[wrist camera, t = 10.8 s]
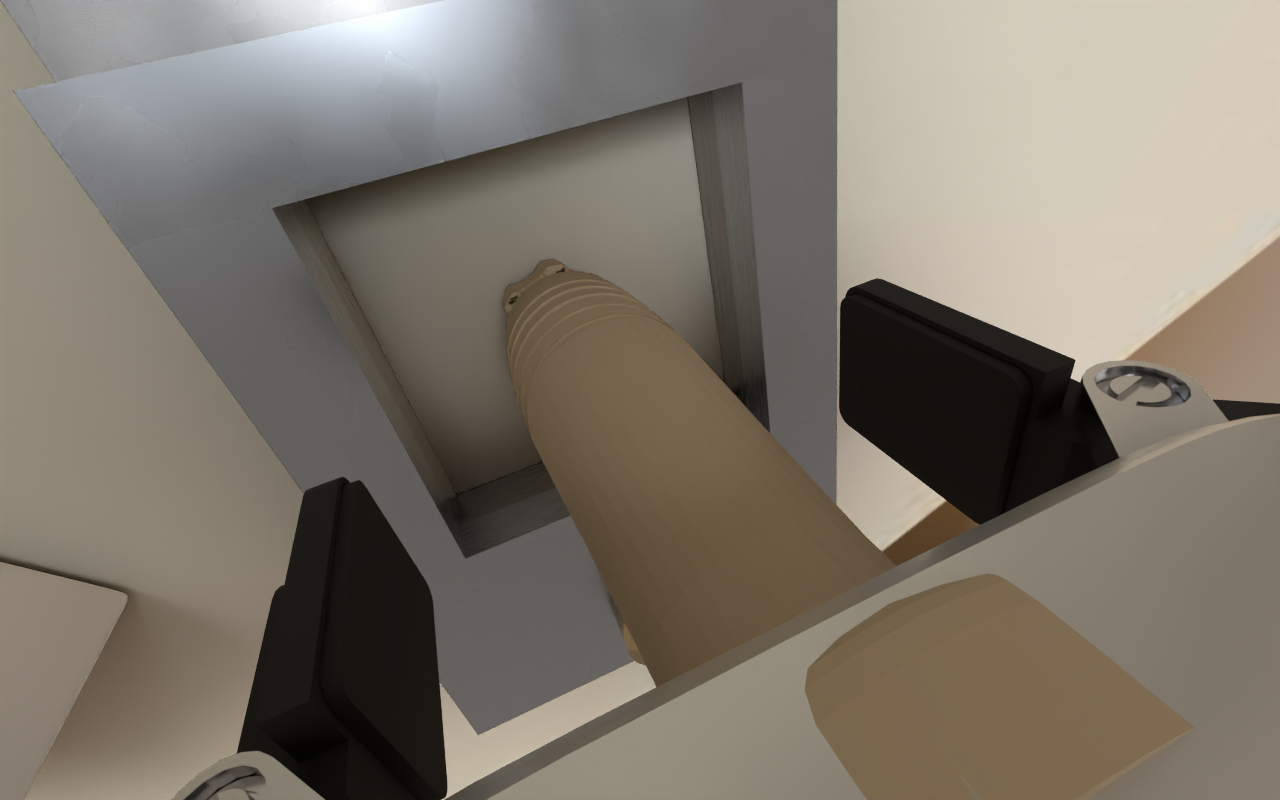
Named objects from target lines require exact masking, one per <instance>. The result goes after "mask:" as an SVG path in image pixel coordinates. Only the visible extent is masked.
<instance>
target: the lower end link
mask: <svg viewBox="0 0 1280 800" xmlns="http://www.w3.org/2000/svg"><path fill="white" fill-rule="evenodd" d="M0 1H1V2H2V4H3V5H4V7H5V8H6V10H7V11H8V13H9V14H10V16H11V17H12V19H13V20H14V22H15V23H16V25H17V26H18V27H19V29H20V30H21V32H22V33H23V35H24V36H25V38H26V39H27V41H28V42H29V44H30V45H31V47H32V48H33V50H34V51H35V52H36V54H37V55H38V57H39V58H40V60H41V61H42V63H43V64H44V66H45V67H46V69H47V70H48V72H49V73H50V75H51V76H52V77H53V79H54V80H55V82H58V81H63V80H68V79H73V78H77V77H82V76H87V75H92V74H96V73H101V72H106V71H111V70H115V69H120V68H125V67H130V66H134V65H139V64H144V63H149V62H153V61H158V60H163V59H168V58H172V57H177V56H182V55H187V54H191V53H196V52H201V51H206V50H210V49H215V48H220V47H225V46H229V45H234V44H239V43H244V42H248V41H253V40H258V39H263V38H267V37H272V36H277V35H282V34H286V33H291V32H296V31H301V30H305V29H310V28H315V27H320V26H324V25H329V24H334V23H338V22H343V21H348V20H353V19H357V18H362V17H367V16H372V15H376V14H381V13H386V12H391V11H395V10H400V9H405V8H410V7H414V6H419V5H424V4H429V3H433V2H438V1H443V0H0ZM688 102H689V110H690V118H691V125H692V133H693V141H694V148H695V156H696V164H697V172H698V179H699V187H700V195H701V202H702V210H703V218H704V225H705V233H706V241H707V248H708V256H709V264H710V271H711V279H712V287H713V295H714V302H715V310H716V318H717V325H718V333H719V341H720V348H721V356H722V364H723V371H724V379H725V384H726V386H727V387H728V388H729V389H730V390H731V391H732V392H733V393H734V394H735V395H736V397H737V398H738V399H739V400H740V401H741V402H742V403H743V404H744V405H745V407H746V399H745V390H744V380H743V371H742V362H741V352H740V343H739V334H738V325H737V315H736V306H735V297H734V288H733V278H732V269H731V260H730V250H729V241H728V232H727V223H726V213H725V204H724V195H723V186H722V176H721V167H720V158H719V148H718V139H717V130H716V121H715V111H714V102H713V93H712V90H711V91H707V92H704V93H700V94H696V95H692V96H689V97H688ZM290 205H291V207H292V208H293V210H294V212H295V214H296V216H297V218H298V220H299V222H300V224H301V225H302V227H303V229H304V231H305V233H306V235H307V237H308V239H309V240H310V242H311V244H312V246H313V248H314V250H315V252H316V254H317V255H318V257H319V259H320V261H321V263H322V265H323V267H324V269H325V271H326V272H327V274H328V276H329V278H330V280H331V282H332V284H333V286H334V287H335V289H336V291H337V293H338V295H339V297H340V299H341V301H342V302H343V304H344V306H345V308H346V310H347V312H348V314H349V316H350V317H351V319H352V321H353V323H354V325H355V327H356V329H357V331H358V333H359V334H360V336H361V338H362V340H363V342H364V344H365V346H366V348H367V349H368V351H369V353H370V355H371V357H372V359H373V361H374V363H375V364H376V366H377V368H378V370H379V372H380V374H381V376H382V378H383V380H384V381H385V383H386V385H387V387H388V389H389V391H390V393H391V395H392V396H393V398H394V400H395V402H396V404H397V406H398V408H399V410H400V411H401V413H402V415H403V417H404V419H405V421H406V423H407V425H408V427H409V428H410V430H411V432H412V434H413V436H414V438H415V440H416V442H417V443H418V445H419V447H420V449H421V451H422V453H423V455H424V457H425V458H426V460H427V462H428V464H429V466H430V468H431V470H432V472H433V474H434V475H435V477H436V479H437V481H438V483H439V485H440V487H441V489H442V490H443V492H444V494H445V496H446V498H447V500H448V502H449V504H450V505H451V507H452V509H453V511H454V513H455V515H456V517H457V519H458V521H459V522H460V524H461V525H462V524H464V523H467V522H469V521H472V520H474V519H477V518H479V517H482V516H484V515H487V514H489V513H492V512H494V511H497V510H499V509H502V508H504V507H507V506H509V505H512V504H514V503H517V502H519V501H522V500H524V499H527V498H529V497H532V496H534V495H537V494H539V493H542V492H544V491H547V490H549V489H552V488H554V487H556V486H555V484H554V482H553V480H552V478H551V476H550V474H549V473H548V471H547V469H546V467H545V465H544V463H543V462H542V463H539V464H536V465H534V466H531V467H529V468H526V469H523V470H521V471H518V472H516V473H513V474H511V475H508V476H505V477H503V478H500V479H498V480H495V481H492V482H490V483H487V484H485V485H482V486H480V487H477V488H474V489H472V490H469V491H467V492H464V493H462V494H459V495H456V493H455V491H454V489H453V487H452V485H451V483H450V481H449V479H448V477H447V475H446V473H445V471H444V470H443V468H442V466H441V464H440V462H439V460H438V458H437V456H436V454H435V452H434V450H433V448H432V446H431V444H430V442H429V440H428V439H427V437H426V435H425V433H424V431H423V429H422V427H421V425H420V423H419V421H418V419H417V417H416V415H415V413H414V411H413V409H412V408H411V406H410V404H409V402H408V400H407V398H406V396H405V394H404V392H403V390H402V388H401V386H400V384H399V382H398V380H397V378H396V377H395V375H394V373H393V371H392V369H391V367H390V365H389V363H388V361H387V359H386V357H385V355H384V353H383V351H382V349H381V347H380V346H379V344H378V342H377V340H376V338H375V336H374V334H373V332H372V330H371V328H370V326H369V324H368V322H367V320H366V318H365V316H364V314H363V313H362V311H361V309H360V307H359V305H358V303H357V301H356V299H355V297H354V295H353V293H352V291H351V289H350V287H349V285H348V283H347V282H346V280H345V278H344V276H343V274H342V272H341V270H340V268H339V266H338V264H337V262H336V260H335V258H334V256H333V254H332V252H331V251H330V249H329V247H328V245H327V243H326V241H325V239H324V237H323V235H322V233H321V231H320V229H319V227H318V225H317V223H316V221H315V220H314V218H313V216H312V214H311V212H310V210H309V208H308V206H307V204H306V202H305V200H300V201H297V202H293V203H290Z"/></svg>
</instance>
